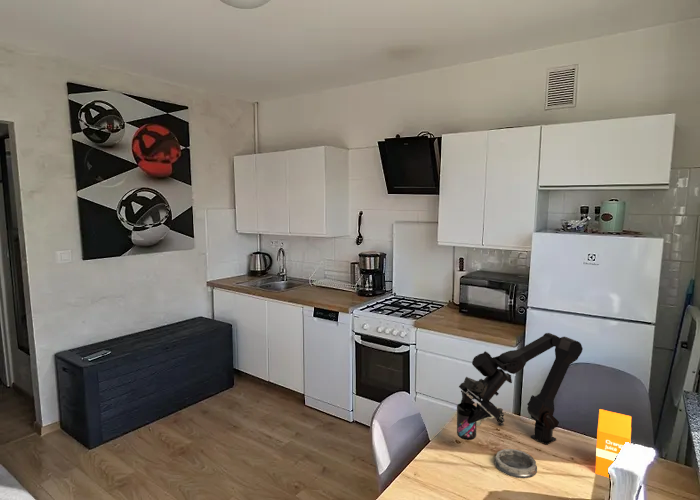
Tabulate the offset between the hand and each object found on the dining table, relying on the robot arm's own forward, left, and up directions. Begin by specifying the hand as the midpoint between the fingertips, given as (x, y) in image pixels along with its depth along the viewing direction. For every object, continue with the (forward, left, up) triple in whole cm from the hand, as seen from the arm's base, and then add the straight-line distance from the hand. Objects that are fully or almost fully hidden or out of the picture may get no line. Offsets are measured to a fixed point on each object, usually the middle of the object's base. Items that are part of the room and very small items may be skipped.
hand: (463, 418), depth 147 cm
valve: (-23, -8, -12) cm, 27 cm away
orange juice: (-31, +34, -12) cm, 48 cm away
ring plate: (-8, +15, -12) cm, 21 cm away
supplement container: (-1, 0, -7) cm, 7 cm away
